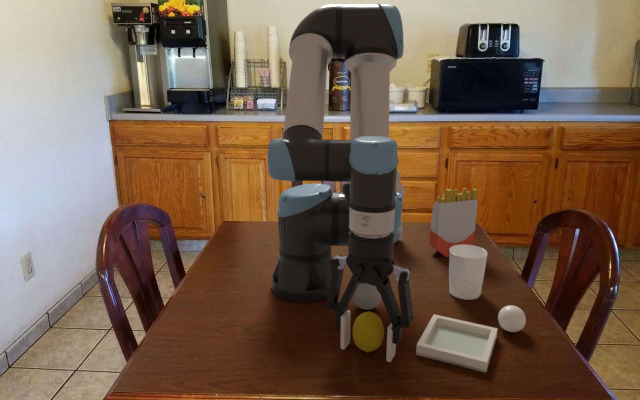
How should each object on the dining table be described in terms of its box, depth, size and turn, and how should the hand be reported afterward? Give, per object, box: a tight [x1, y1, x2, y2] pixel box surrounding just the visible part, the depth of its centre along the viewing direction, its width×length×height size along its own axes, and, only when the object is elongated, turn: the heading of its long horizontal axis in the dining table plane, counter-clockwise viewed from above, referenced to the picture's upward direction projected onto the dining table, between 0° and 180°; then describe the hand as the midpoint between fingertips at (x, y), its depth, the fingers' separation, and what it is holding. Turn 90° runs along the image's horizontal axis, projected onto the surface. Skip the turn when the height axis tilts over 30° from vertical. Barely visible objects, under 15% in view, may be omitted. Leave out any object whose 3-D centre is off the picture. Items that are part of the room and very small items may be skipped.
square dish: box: [415, 314, 498, 374], centre depth 93 cm, size 12×12×2 cm
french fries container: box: [428, 187, 479, 258], centre depth 133 cm, size 5×11×18 cm, turn 107°
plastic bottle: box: [395, 170, 406, 243], centre depth 141 cm, size 6×7×20 cm
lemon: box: [352, 310, 385, 354], centre depth 90 cm, size 6×6×8 cm
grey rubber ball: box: [352, 283, 382, 311], centre depth 106 cm, size 6×6×6 cm
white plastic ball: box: [497, 304, 527, 333], centre depth 97 cm, size 5×5×5 cm
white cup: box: [448, 245, 488, 301], centre depth 112 cm, size 8×8×10 cm
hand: (367, 351), depth 91 cm, fingers open, 8 cm apart
